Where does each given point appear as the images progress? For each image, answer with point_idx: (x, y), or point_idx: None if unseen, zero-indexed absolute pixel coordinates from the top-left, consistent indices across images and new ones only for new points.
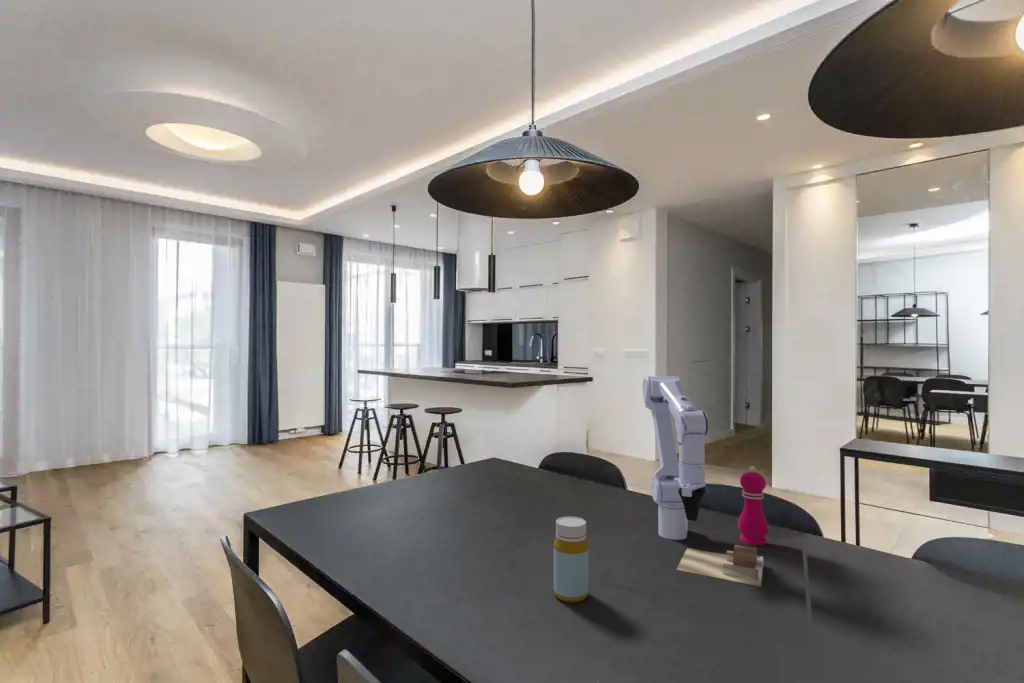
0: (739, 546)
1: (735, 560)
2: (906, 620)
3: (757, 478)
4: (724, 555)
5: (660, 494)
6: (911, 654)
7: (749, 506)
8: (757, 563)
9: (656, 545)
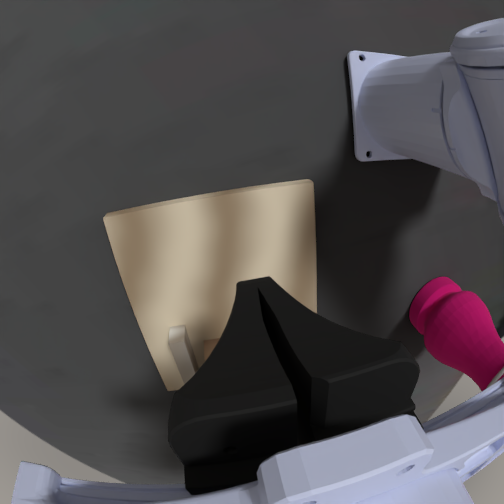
0: None
1: None
2: None
3: None
4: (309, 293)
5: (478, 60)
6: (139, 476)
7: (477, 366)
8: None
9: (307, 68)
